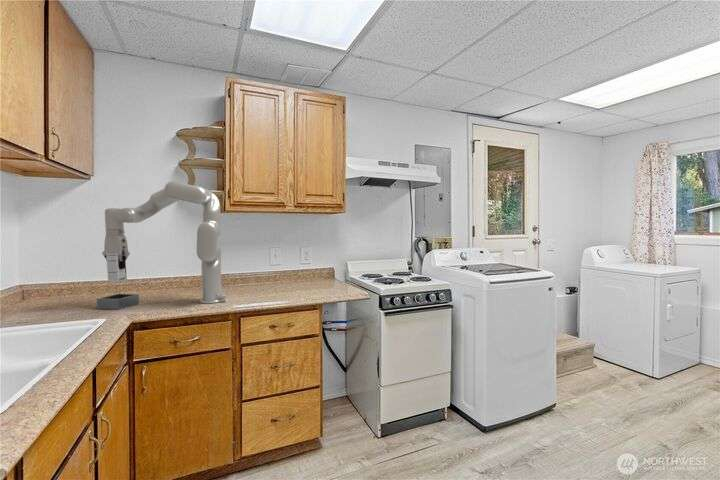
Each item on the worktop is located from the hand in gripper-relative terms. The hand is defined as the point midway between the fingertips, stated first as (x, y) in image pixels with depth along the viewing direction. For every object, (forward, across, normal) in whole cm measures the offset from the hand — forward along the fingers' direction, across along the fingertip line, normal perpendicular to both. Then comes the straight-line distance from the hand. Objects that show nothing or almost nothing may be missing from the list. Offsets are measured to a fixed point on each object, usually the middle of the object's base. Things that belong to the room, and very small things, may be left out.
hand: (116, 268), depth 178 cm
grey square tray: (+19, 0, 0) cm, 19 cm away
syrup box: (+7, 0, 0) cm, 7 cm away
